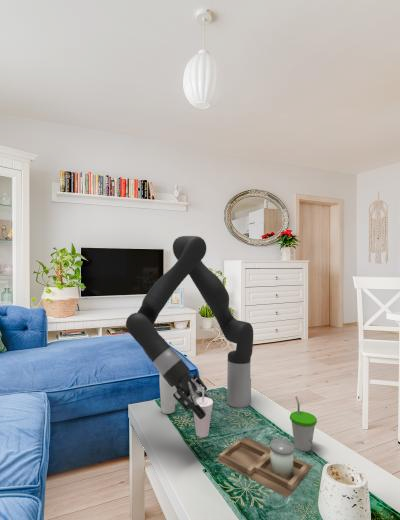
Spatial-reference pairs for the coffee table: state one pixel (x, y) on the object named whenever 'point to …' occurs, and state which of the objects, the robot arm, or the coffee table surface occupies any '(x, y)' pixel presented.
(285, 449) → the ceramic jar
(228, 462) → the walnut tray
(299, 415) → the cup
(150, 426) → the coffee table surface
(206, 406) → the smoothie
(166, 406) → the drinking glass
